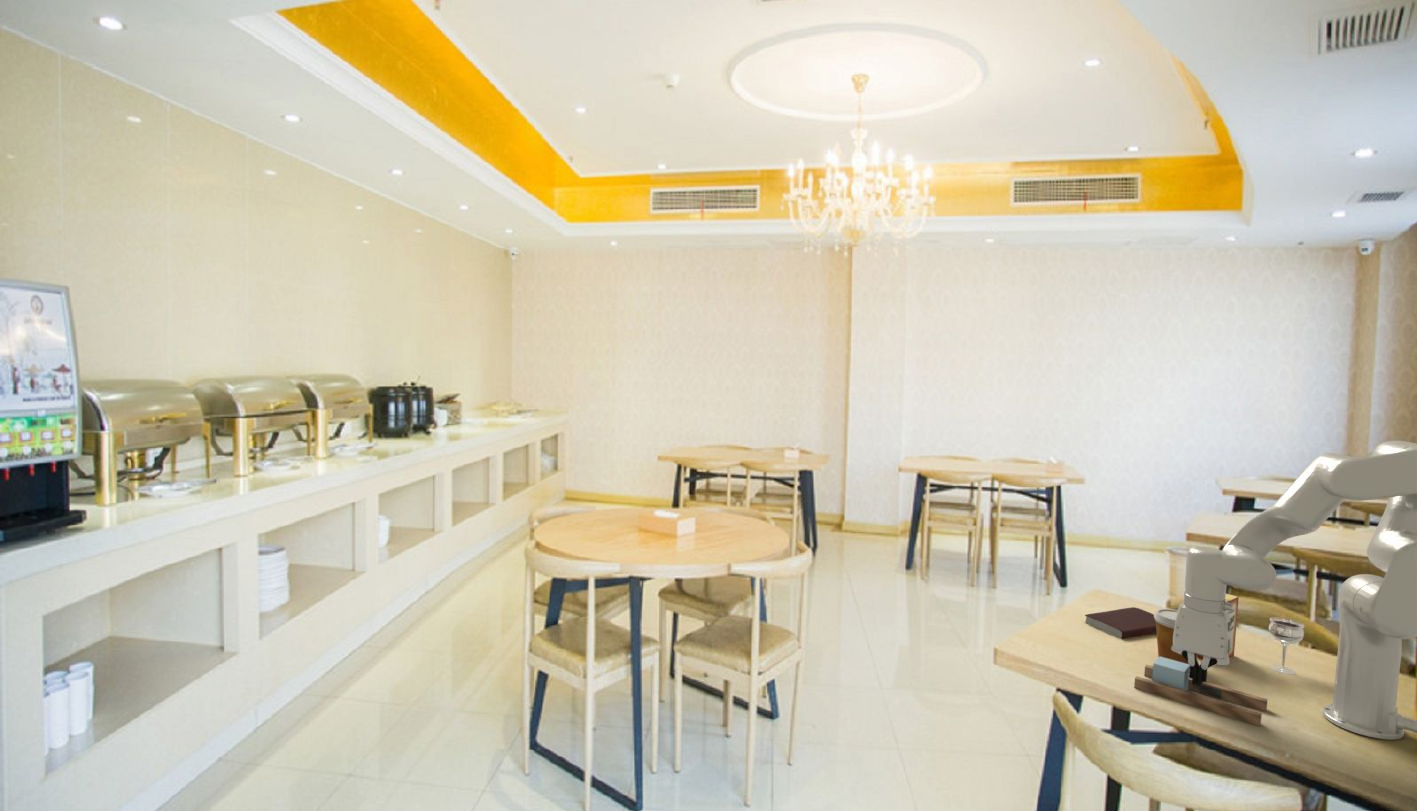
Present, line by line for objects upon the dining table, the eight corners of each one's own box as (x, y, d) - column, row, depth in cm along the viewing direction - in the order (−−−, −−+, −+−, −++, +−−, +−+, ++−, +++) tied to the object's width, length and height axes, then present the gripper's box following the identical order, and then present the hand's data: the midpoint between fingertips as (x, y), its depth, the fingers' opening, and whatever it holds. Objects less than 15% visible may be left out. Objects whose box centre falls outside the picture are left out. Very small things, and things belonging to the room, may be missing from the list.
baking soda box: (1204, 646, 186) (1209, 587, 185) (1233, 655, 181) (1238, 595, 180) (1189, 654, 181) (1193, 594, 180) (1218, 664, 176) (1223, 601, 175)
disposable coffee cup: (1203, 672, 171) (1207, 624, 170) (1160, 667, 173) (1163, 620, 172) (1185, 655, 181) (1189, 610, 180) (1144, 651, 182) (1147, 606, 181)
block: (1187, 689, 162) (1189, 664, 161) (1182, 697, 158) (1184, 671, 157) (1157, 680, 166) (1159, 656, 166) (1151, 688, 162) (1153, 663, 162)
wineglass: (1302, 678, 169) (1307, 630, 168) (1267, 671, 172) (1271, 623, 171) (1298, 668, 174) (1302, 621, 174) (1263, 661, 178) (1267, 615, 177)
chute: (1266, 708, 154) (1267, 699, 154) (1259, 726, 146) (1260, 716, 146) (1146, 673, 170) (1146, 664, 170) (1134, 687, 162) (1134, 678, 162)
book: (1173, 633, 197) (1174, 621, 196) (1122, 641, 190) (1122, 629, 190) (1133, 617, 208) (1133, 606, 208) (1083, 624, 202) (1084, 613, 202)
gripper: (1248, 608, 154) (1241, 689, 156) (1168, 591, 165) (1162, 667, 166) (1242, 617, 149) (1235, 700, 150) (1160, 598, 159) (1154, 677, 161)
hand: (1197, 682), depth 158 cm, fingers closed
